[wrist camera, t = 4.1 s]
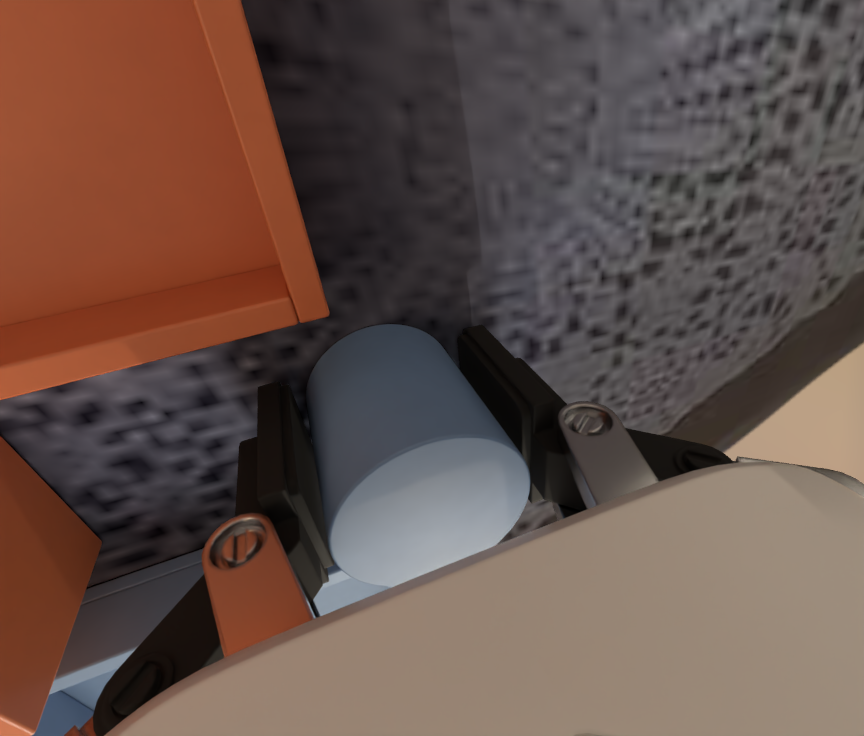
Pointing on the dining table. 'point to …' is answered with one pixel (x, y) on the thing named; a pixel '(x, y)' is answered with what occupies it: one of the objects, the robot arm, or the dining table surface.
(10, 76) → the terracotta tray
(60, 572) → the terracotta block
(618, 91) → the dining table surface
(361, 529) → the blue cylinder
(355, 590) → the blue tray
